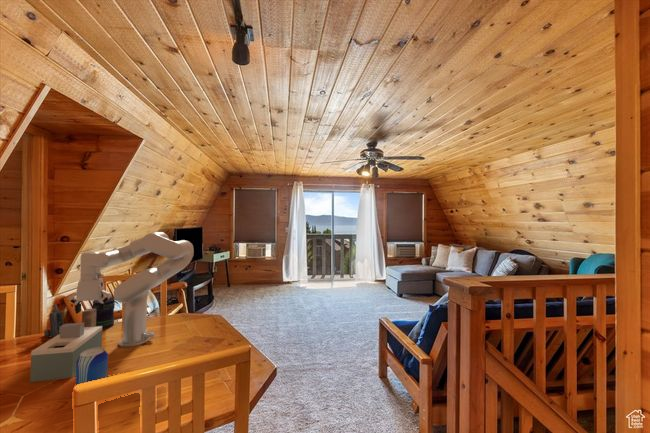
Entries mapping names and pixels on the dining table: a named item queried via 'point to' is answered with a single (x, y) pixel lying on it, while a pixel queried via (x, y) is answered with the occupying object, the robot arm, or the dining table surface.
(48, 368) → the toolbox
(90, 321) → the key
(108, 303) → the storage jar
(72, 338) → the lid
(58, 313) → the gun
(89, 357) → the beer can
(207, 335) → the dining table surface
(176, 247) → the robot arm
